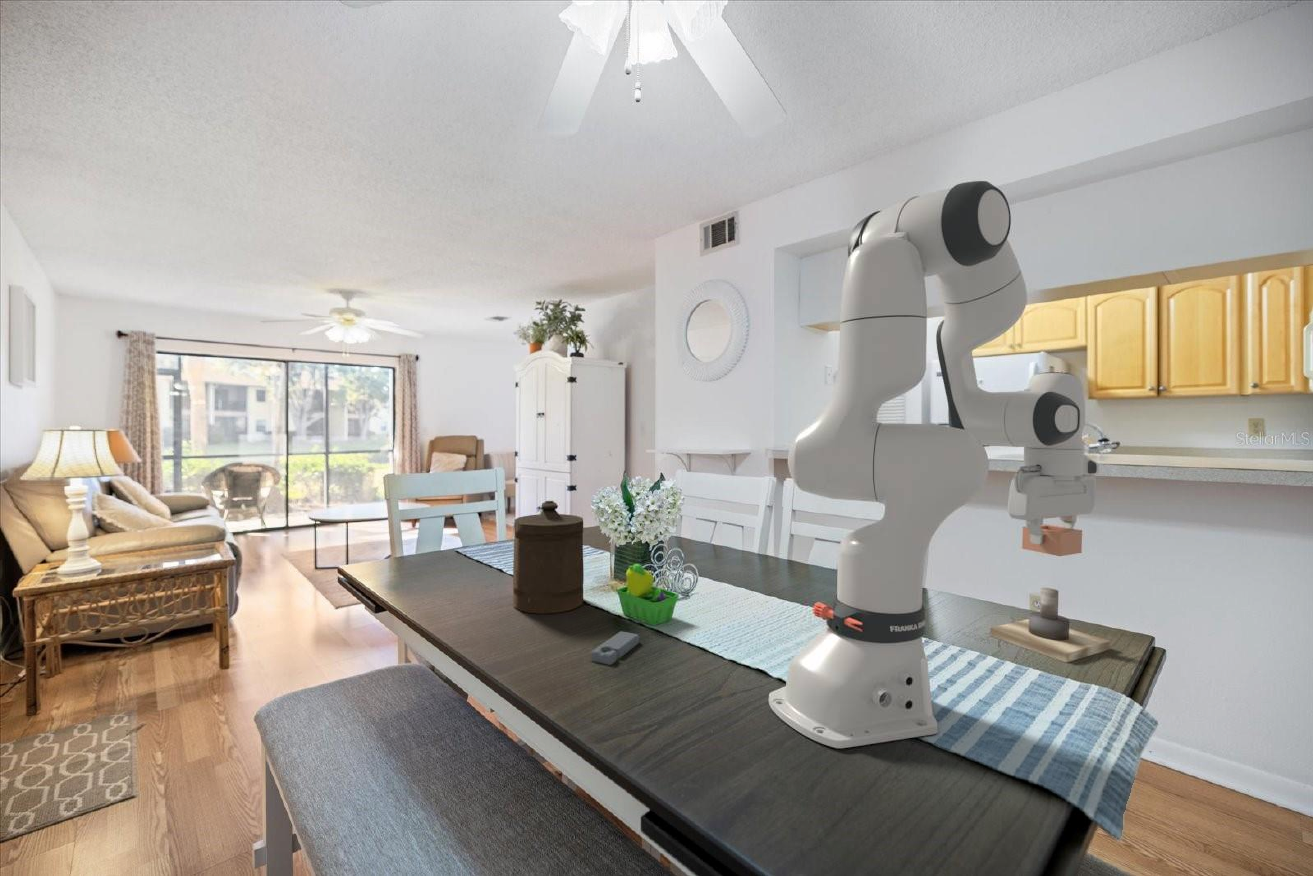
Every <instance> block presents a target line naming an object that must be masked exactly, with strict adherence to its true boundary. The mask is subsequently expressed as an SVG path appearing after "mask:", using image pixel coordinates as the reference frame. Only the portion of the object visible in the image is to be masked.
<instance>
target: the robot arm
mask: <svg viewBox="0 0 1313 876" xmlns="http://www.w3.org/2000/svg"><path fill="white" fill-rule="evenodd" d="M1011 222H1012V217H1011V209H1010V204H1009V202H1008V200H1007V198H1006V195H1005V194H1004V192H1002V190H1001V189H999V188H998V187H997V186H995V184H992V183H991V182H990V181H989V182H988V181H987V180H974V181H967V182H961V183H958V184H956V185H954V186H953V187H951V188H950V187H949V188H945V189H941V190H936V191H933V192H929V193H926V194H922V195H916V196H912V197H910V198H906V199H904V200H902V201H900V202H897V203H895V204H892V205H891V206H888V207H887V208H885V209H883V210H877V211H874V212H872V213H871V214H868V215H867V216H866V217H864V218H863V219H861V220H860V221H859V222H858V223H857V224H856V225H855V226H854V227H853V230H852V232H851V234H850V237H849V241H848V245H847V257H848V259H847V261H846V266H845V270H844V271H845V272H844V275H843V276H844V277H843V281H842V289H841V297H840V309H839V347H838V348H839V351H838V352H839V353H838V362H837V363H838V365H837V372H836V373H837V374H836V379H835V383H834V386H833V390H832V392H831V394H830V397H829V399H828V401H827V403H826V404H825V406H824V407H823V408H822V410H821V411H820V412H819V414H818V415H816V417H815V418H814V419H813V420H812V421H811V422H810V423H808V424H807V425H805V426H804V427H803V428H802V429H800V430H799V432H798V433H797V434H796V435H795V437H794V438H793V439H792V441H791V443H790V446H789V449H788V452H787V467H788V471H789V474H790V477H791V479H792V480H793V483H794V484H795V485H796V487H797V488H798V489H799V490H800V491H802V492H805V493H809V494H812V495H816V496H819V497H823V498H827V499H830V500H832V499H833V500H845V501H847V500H848V501H861V502H870V503H871V502H872V503H879V504H883V505H884V512H883V513H884V514H883V517H882V518H881V519H880V520H877V521H876V522H874V523H870V524H867V525H864V526H862V527H860V528H857V529H855V530H853V531H852V532H850V533H848V534H847V535H846V536H844V538H843V539H842V540H841V541H840V543H839V545H838V548H837V567H836V568H837V577H836V578H837V580H836V581H837V583H836V594H835V596H834V598H833V599H832V604H831V606H830V605H825V604H824V603H823V602H820V601H818V602H815V603H814V606H812V608H813V609H812V614H813V615H814V617H817V618H821V619H822V620H825V622H826V625H825V626H824V628H823V629H821V631H819V632H818V634H816V636H814V637H813V638H812V639H811V640H810V641H809V642H808V643H807V644H806V645H805V646H804V647H803V648H802V649H801V650H800V651H799V652H798V653H797V654H796V655H795V656H793V657H792V659H791V660H790V663H789V665H788V670H787V675H786V683H785V686H781V688H778V689H775V690H773V691H771V692H770V693H769V694H768V704H769V705H768V706H769V707H770V708H771V710H772V711H773V712H774V713H775V715H776V716H777V717H779V719H781V720H782V721H783V722H784V723H786V724H787V725H788V726H790V727H791V728H792V729H794V730H795V731H797V732H798V733H800V734H801V735H804V736H805V737H807V738H809V739H811V740H813V741H815V742H817V743H820V744H823V745H826V746H828V747H831V748H835V749H845V748H852V747H859V746H867V745H871V744H879V743H885V742H891V741H893V742H894V741H899V740H905V739H910V738H918V737H922V736H923V737H925V736H930V735H936V734H938V733H939V728H938V727H939V726H938V725H939V724H938V721H937V719H936V718H935V716H934V708H933V705H932V697H931V695H932V694H931V682H930V674H929V663H928V659H927V657H926V656H927V655H926V652H925V649H924V648H925V647H924V645H923V636H924V635H925V633H926V624H927V618H926V608H925V605H924V604H923V582H924V581H923V580H924V571H925V569H924V568H925V563H926V556H927V553H928V552H927V551H928V549H929V546H930V543H931V542H932V541H931V540H932V538H933V536H934V535H935V533H936V531H937V530H938V529H939V528H940V526H941V525H942V523H943V522H945V520H946V519H947V518H948V517H949V516H950V515H951V514H953V513H954V512H955V511H957V510H958V509H960V508H962V507H963V506H965V505H967V504H968V503H970V502H972V501H973V500H974V499H975V498H976V497H978V495H979V494H980V493H981V492H982V490H983V489H984V487H985V484H986V483H987V479H988V477H989V471H990V470H989V469H990V466H989V464H990V463H989V458H988V453H987V451H986V448H985V447H1007V448H1009V447H1010V448H1023V465H1022V466H1020V467H1019V469H1018V470H1017V472H1016V473H1014V477H1013V478H1012V480H1011V483H1010V486H1009V494H1008V501H1007V512H1008V515H1009V517H1010V518H1011V519H1016V520H1021V521H1025V525H1026V526H1027V527H1028V530H1029V532H1030V542H1031V543H1033V544H1044V543H1045V538H1046V534H1043V532H1042V528H1041V525H1043V524H1044V519H1045V520H1046V519H1053V518H1055V519H1056V518H1059V520H1060V524H1059V527H1065V528H1071V529H1074V528H1075V524H1076V522H1077V516H1080V515H1089V514H1091V513H1092V512H1093V510H1094V509H1095V505H1096V498H1097V497H1096V495H1097V479H1096V478H1097V477H1096V475H1097V474H1099V469H1100V465H1099V463H1098V462H1097V461H1095V460H1093V459H1091V458H1090V457H1089V456H1087V455H1086V454H1085V444H1084V442H1083V430H1084V428H1085V427H1086V426H1085V425H1086V403H1085V402H1086V400H1085V392H1084V387H1083V382H1082V380H1081V378H1080V377H1079V376H1077V375H1075V374H1073V373H1068V372H1059V371H1048V372H1039V373H1036V374H1034V375H1032V376H1031V377H1030V379H1029V383H1028V386H1027V387H1026V388H1025V389H1023V390H1017V391H1000V392H999V391H997V392H993V391H992V392H991V391H986V390H984V389H982V388H980V387H979V385H978V380H977V375H976V368H975V364H974V363H975V362H974V356H973V351H974V350H976V349H977V348H978V349H979V347H982V346H983V345H986V344H989V343H990V342H992V341H994V340H996V339H998V338H999V337H1000V336H1003V334H1005V333H1007V331H1008V330H1010V329H1011V328H1012V327H1014V325H1015V324H1017V322H1018V321H1019V320H1020V319H1021V317H1022V315H1023V314H1024V312H1025V309H1026V307H1027V302H1028V294H1027V286H1026V283H1025V279H1024V276H1023V273H1022V271H1021V267H1020V265H1019V262H1018V260H1017V259H1018V258H1017V257H1016V255H1015V251H1014V250H1013V247H1012V246H1011V244H1010V242H1009V240H1008V237H1009V236H1010V235H1009V234H1010V231H1011V224H1012V223H1011ZM932 276H933V277H934V280H935V284H936V287H937V291H938V293H939V295H940V299H941V301H942V304H943V308H944V319H943V320H942V321H941V322H939V325H938V326H937V330H936V337H935V340H936V343H935V344H936V351H937V355H938V356H937V357H938V362H939V363H938V364H939V366H940V372H941V376H942V380H943V386H944V390H945V395H946V400H947V407H948V409H947V410H948V411H947V412H948V413H947V414H948V419H947V420H948V426H947V425H942V424H936V423H883V422H880V421H879V422H878V419H877V418H878V413H879V411H880V408H881V407H882V406H883V404H885V403H887V402H889V401H891V400H894V399H895V398H896V399H897V397H900V396H902V395H904V394H906V393H908V392H909V391H911V390H912V389H914V388H915V387H917V386H918V385H919V384H920V382H922V380H923V378H924V377H925V374H926V370H927V335H928V333H927V332H928V331H927V330H928V329H927V328H928V326H927V325H928V321H927V320H928V316H927V315H928V314H927V313H928V308H927V307H928V305H927V292H926V291H927V289H926V281H925V278H928V277H932Z"/></svg>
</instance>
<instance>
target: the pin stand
mask: <svg viewBox="0 0 1313 876" xmlns="http://www.w3.org/2000/svg"><path fill="white" fill-rule="evenodd" d="M1039 603H1040V606H1039V608H1040V609H1039V610H1040V611H1034V612H1030V613H1029V614H1028V618H1027V619H1023V620H1018V621H1013V622H1009V623H1005V624H1001V625H996V626H993V627H990V629H989V630H990V631H989V633H990V634H989V635H990V637H992V638H995V639H999V640H1001V641H1004V642H1007V643H1010V644H1013V645H1015V646H1018V647H1021V648H1023V649H1026V650H1029V651H1032V652H1035V653H1038V654H1041V655H1044V656H1046V657H1050V658H1053V659H1054V660H1058V661H1061V662H1063V663H1069V662H1072V661H1076V660H1079V659H1082V658H1086V657H1089V656H1093V655H1097V654H1099V653H1103V652H1106V651H1109V650H1111V641H1110V640H1108V639H1105V638H1102V637H1098V636H1094V635H1092V634H1088V633H1085V632H1081V631H1077V630H1075V629H1072V628H1070V620H1069V618H1067V617H1065V616H1063V615H1059V590H1057V589H1055V588H1051V587H1050V588H1049V587H1041V588H1040V602H1039Z"/></svg>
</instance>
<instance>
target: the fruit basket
mask: <svg viewBox="0 0 1313 876" xmlns="http://www.w3.org/2000/svg"><path fill="white" fill-rule="evenodd" d="M625 573H626V574H625V576H626V586H623V587H619V588H617V589H616V593H617V595H618V599H619V603H620V606H621V611H622V614H623V615H624V616H628V617H630V618H632V619H636V620H638V621H641V622H643V623H647V624H648V625H650V626H655V625H659V624H662V623H664V622H667V621H671V620H672V619H673V615H674V611H675V607H676V604H677V601H678V599H679V596H680V594H679V593H676V592H672V591H669V590H667V589H665V588H664V589H663V588H660V587H657V586H653V584H654V580H655V577H654V576H653V574H652V573H650V572H649V571H648V570H646V569H644V567H643V566H642V564H639V563H634V564H633V565H629V567H628V569H627V570H626V572H625Z"/></svg>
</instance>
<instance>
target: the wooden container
mask: <svg viewBox="0 0 1313 876" xmlns="http://www.w3.org/2000/svg"><path fill="white" fill-rule="evenodd" d="M540 507H541V509H542V511H541V512H540V513H539V514H531V515H529V514H528V515H523V516H520V517H517V518H515V519H514V527H513V529H514V535H513V536H514V537H513V563H512V566H513V568H512V574H513V575H512V589H513V591H512V594H513V595H512V596H513V597H512V602H513V603H512V606H513V607H514V608H515V609H516V610H518V611H522V612H524V613H529V614H539V615H541V614H543V615H545V614H549V615H550V614H557V613H564V612H567V611H568V612H569V611H572V610H574V609H577V608H578V607H579V608H580V606H582V605H583V603H584V581H585V580H584V572H585V571H584V544H583V543H584V538H583V534H584V519H583V517H581V516H578V515H573V514H562V513H559V512H558V511H557V509H558V508H559V505H558V504H557V502H555V501H554V500H546V501H544V502H542V503H541V506H540Z"/></svg>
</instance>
